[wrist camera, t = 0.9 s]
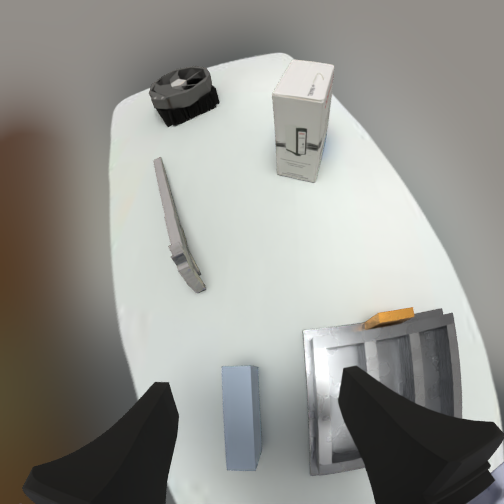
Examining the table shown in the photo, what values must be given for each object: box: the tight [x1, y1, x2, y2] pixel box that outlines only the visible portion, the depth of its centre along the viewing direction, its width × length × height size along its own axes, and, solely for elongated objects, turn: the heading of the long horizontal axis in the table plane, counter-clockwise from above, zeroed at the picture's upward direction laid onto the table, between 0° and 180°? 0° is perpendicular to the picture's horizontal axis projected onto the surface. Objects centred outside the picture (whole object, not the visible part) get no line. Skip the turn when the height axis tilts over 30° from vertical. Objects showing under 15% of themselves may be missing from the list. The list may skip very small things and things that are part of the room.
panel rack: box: [303, 307, 462, 476], centre depth 18 cm, size 14×15×5 cm
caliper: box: [154, 157, 206, 293], centre depth 28 cm, size 21×1×6 cm, turn 24°
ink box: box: [272, 60, 334, 182], centre depth 27 cm, size 9×5×12 cm, turn 161°
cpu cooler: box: [149, 66, 219, 127], centre depth 38 cm, size 10×6×10 cm
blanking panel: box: [222, 366, 262, 471], centre depth 19 cm, size 8×2×6 cm, turn 3°
